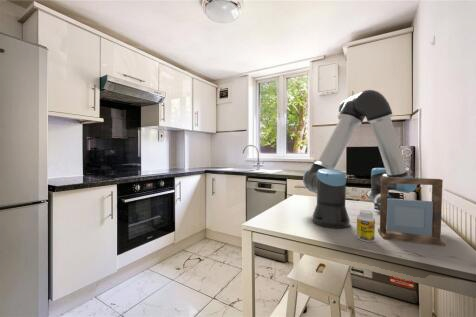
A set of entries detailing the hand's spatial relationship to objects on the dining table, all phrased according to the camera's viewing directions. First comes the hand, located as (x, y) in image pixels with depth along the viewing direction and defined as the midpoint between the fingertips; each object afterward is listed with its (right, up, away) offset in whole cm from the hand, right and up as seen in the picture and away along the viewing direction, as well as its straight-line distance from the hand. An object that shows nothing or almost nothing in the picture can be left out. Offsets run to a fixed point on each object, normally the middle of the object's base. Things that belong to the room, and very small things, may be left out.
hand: (405, 218), depth 79 cm
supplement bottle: (-16, -7, -2) cm, 17 cm away
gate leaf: (0, -5, -1) cm, 5 cm away
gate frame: (+1, -7, 0) cm, 7 cm away
